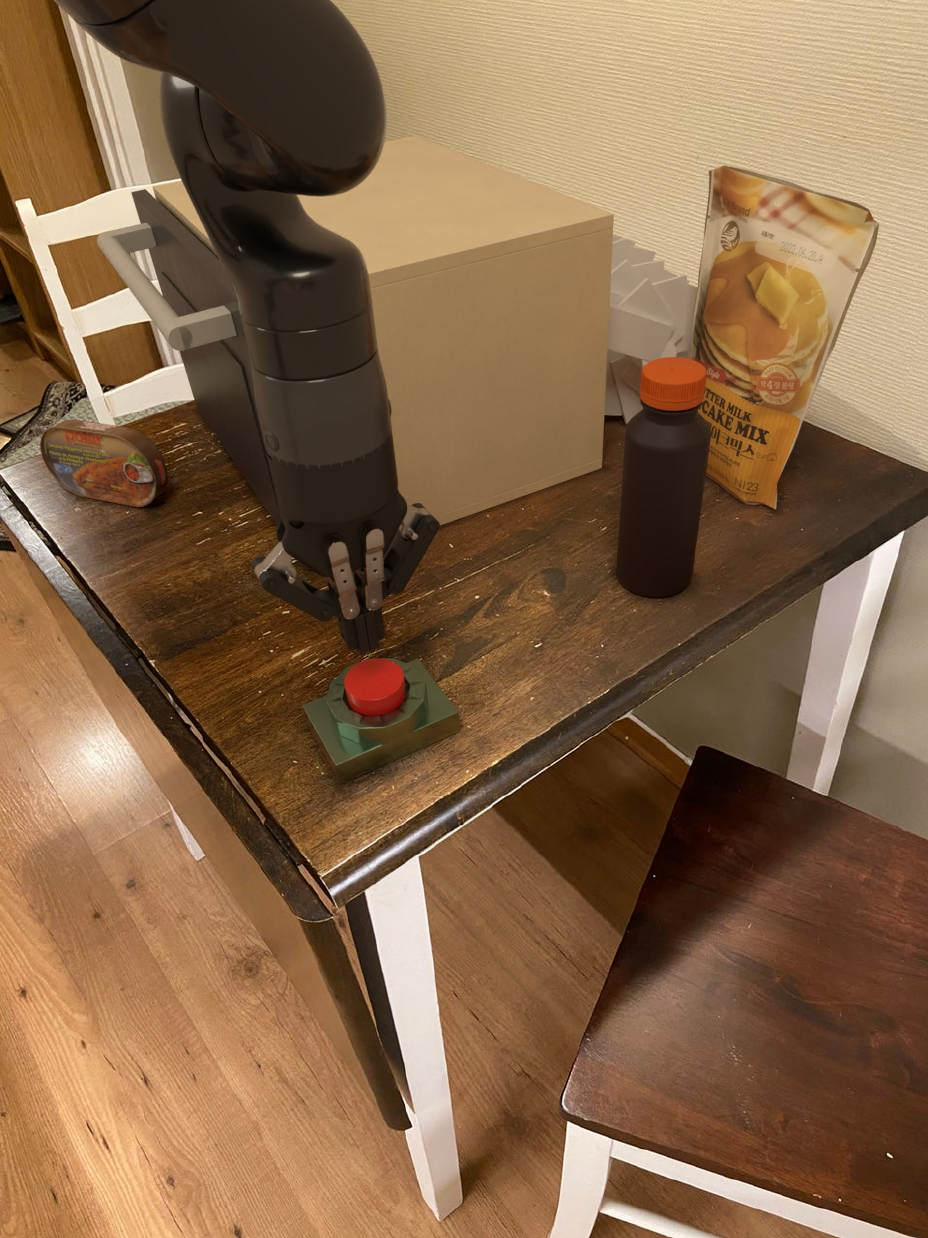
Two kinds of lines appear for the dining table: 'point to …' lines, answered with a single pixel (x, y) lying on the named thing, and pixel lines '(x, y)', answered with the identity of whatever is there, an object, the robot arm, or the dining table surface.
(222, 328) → the oven door
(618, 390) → the spiral staircase
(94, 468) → the tin
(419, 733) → the button base
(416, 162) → the oven
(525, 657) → the dining table surface
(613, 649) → the dining table surface
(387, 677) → the button
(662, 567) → the bottle
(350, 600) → the robot arm
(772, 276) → the pancake mix bag
